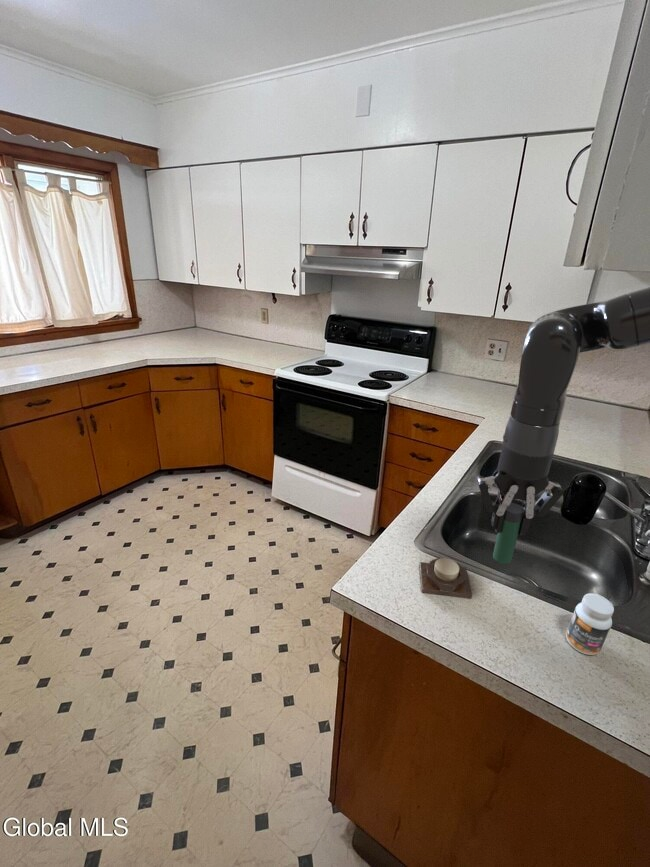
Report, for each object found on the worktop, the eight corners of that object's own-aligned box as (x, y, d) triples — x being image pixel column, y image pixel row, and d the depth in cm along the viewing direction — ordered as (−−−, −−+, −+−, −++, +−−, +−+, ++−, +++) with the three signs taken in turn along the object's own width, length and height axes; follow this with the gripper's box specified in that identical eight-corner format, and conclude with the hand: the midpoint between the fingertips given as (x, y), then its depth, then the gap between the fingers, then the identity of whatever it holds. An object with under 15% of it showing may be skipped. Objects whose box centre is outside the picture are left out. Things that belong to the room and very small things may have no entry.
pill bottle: (565, 649, 77) (580, 609, 72) (564, 625, 81) (578, 586, 77) (601, 661, 74) (619, 621, 70) (598, 636, 79) (615, 597, 75)
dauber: (509, 552, 78) (521, 503, 74) (513, 564, 76) (525, 514, 71) (491, 551, 79) (501, 501, 74) (494, 563, 76) (505, 512, 71)
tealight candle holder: (465, 571, 94) (467, 560, 93) (471, 599, 87) (473, 588, 85) (419, 565, 95) (421, 555, 94) (421, 593, 88) (423, 582, 87)
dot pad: (456, 565, 92) (457, 559, 91) (459, 582, 87) (461, 576, 87) (432, 563, 92) (433, 556, 92) (434, 579, 88) (436, 573, 87)
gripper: (486, 451, 65) (470, 540, 72) (585, 458, 63) (558, 549, 70) (478, 430, 72) (464, 514, 79) (567, 436, 70) (544, 521, 77)
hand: (508, 530), depth 75 cm, fingers closed on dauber, 3 cm apart
